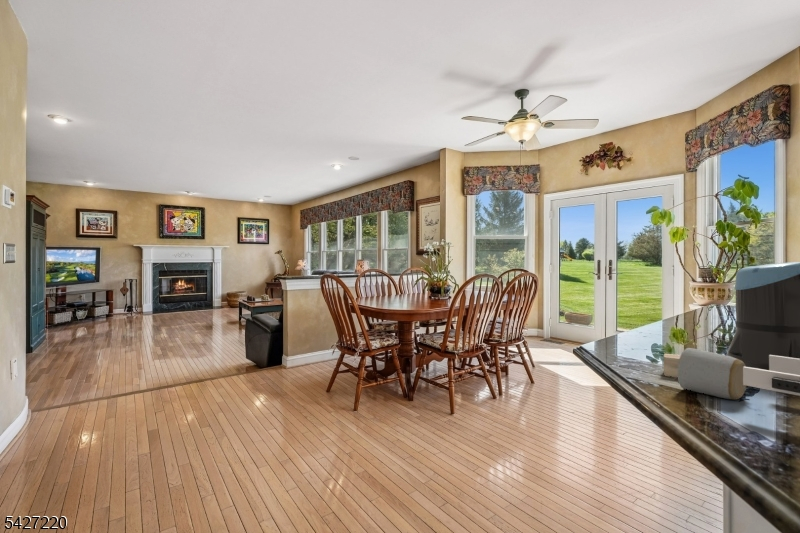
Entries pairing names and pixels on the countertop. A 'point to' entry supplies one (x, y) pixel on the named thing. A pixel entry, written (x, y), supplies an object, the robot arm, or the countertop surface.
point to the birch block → (671, 364)
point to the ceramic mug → (711, 374)
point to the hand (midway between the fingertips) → (757, 368)
